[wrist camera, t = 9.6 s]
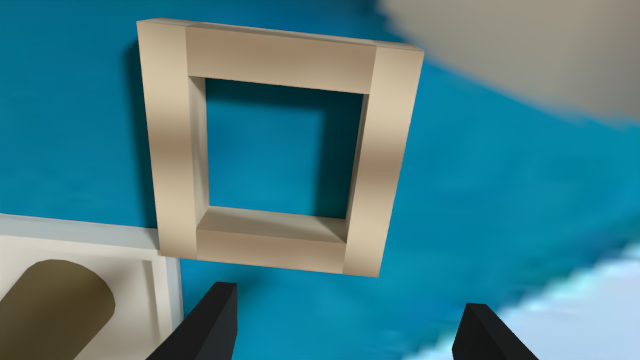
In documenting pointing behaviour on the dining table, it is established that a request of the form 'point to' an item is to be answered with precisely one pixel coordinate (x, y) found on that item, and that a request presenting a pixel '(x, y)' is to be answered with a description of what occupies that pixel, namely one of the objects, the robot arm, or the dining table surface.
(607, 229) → the dining table surface
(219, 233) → the frame
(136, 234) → the tray
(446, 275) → the dining table surface
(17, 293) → the olive tall rounded piece
